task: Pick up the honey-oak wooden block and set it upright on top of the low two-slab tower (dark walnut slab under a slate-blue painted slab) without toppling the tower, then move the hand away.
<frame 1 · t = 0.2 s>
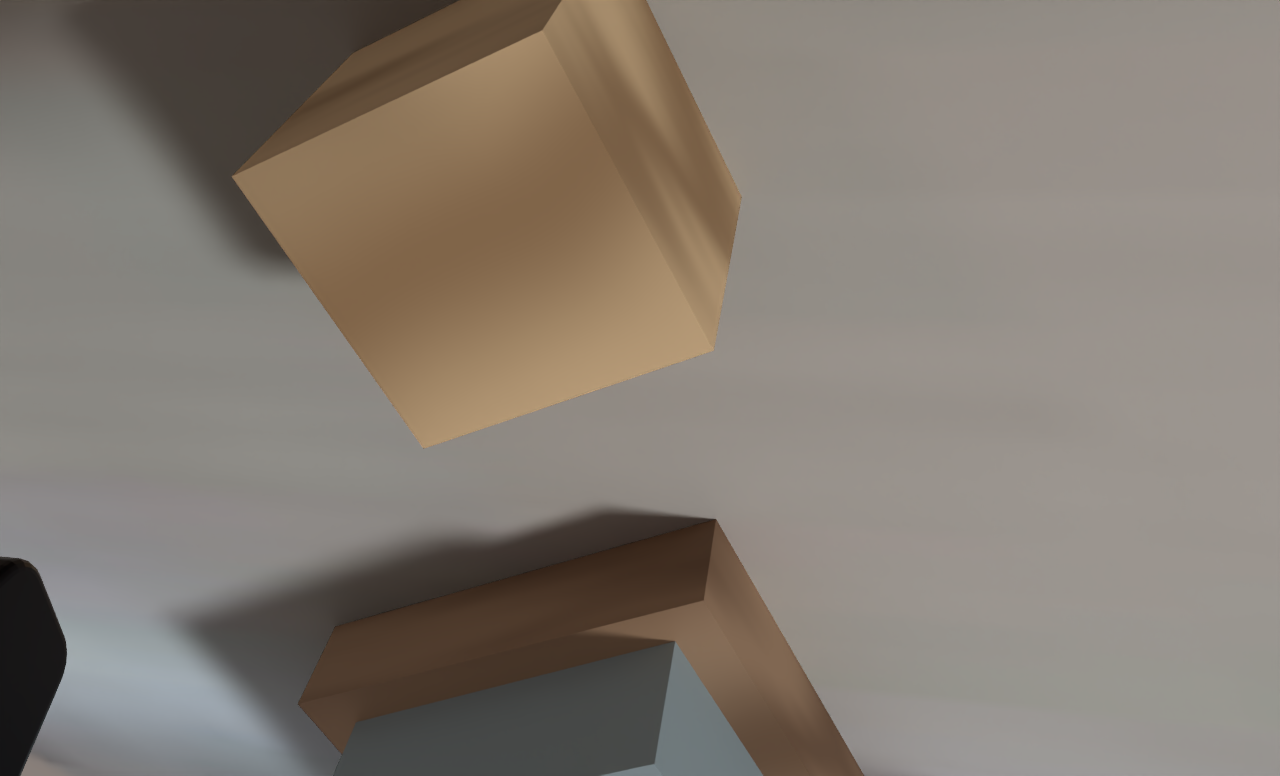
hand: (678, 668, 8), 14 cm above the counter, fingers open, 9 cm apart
tower base: (618, 701, 30), on the counter, touching tower top
oak block: (550, 124, 21), on the counter
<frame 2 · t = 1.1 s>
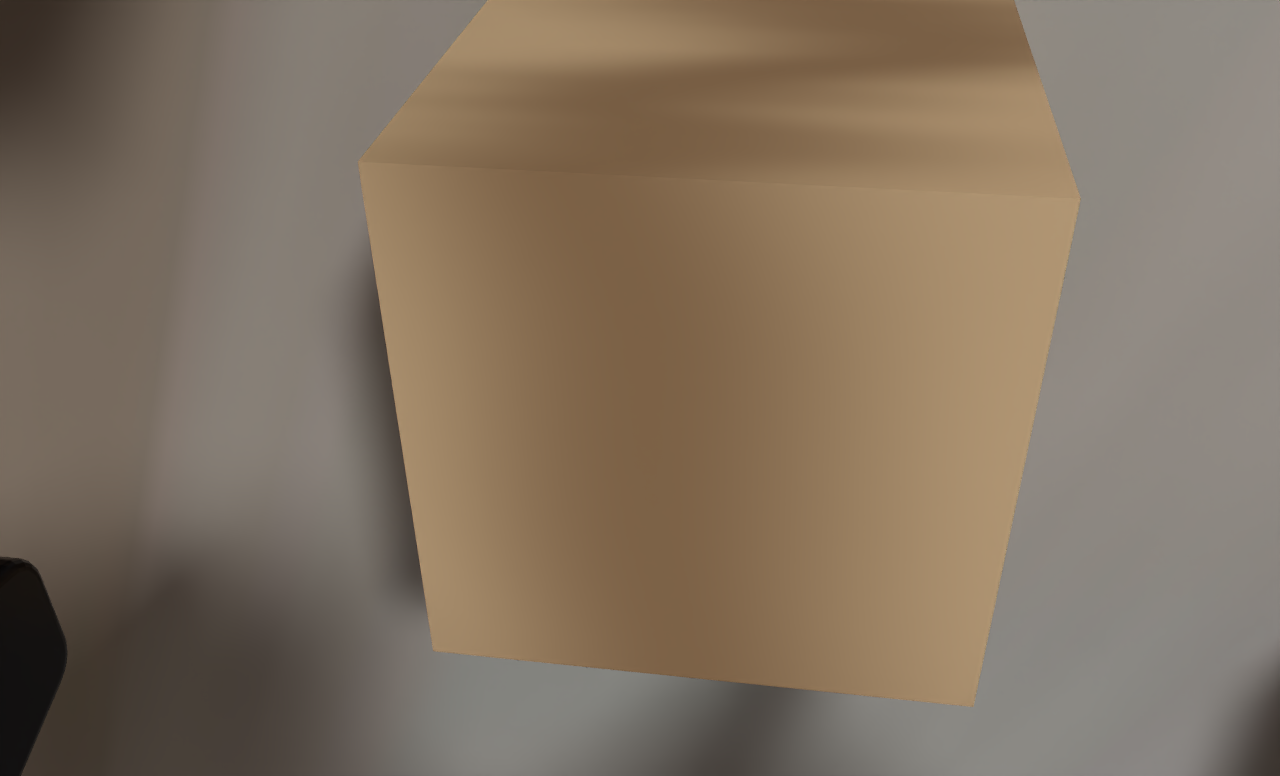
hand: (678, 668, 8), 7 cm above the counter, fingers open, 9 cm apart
oak block: (746, 194, 14), on the counter
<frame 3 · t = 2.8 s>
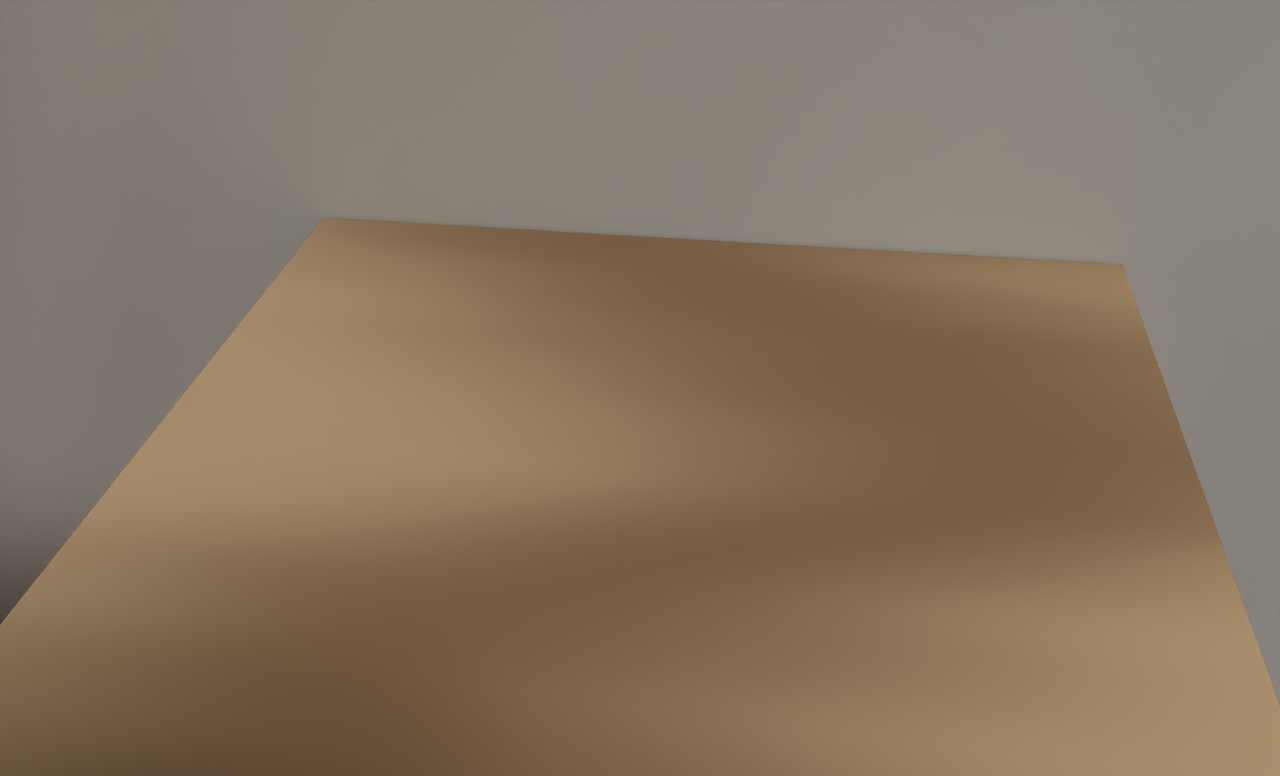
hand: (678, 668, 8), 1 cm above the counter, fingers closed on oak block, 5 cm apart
oak block: (699, 541, 9), on the counter, touching gripper
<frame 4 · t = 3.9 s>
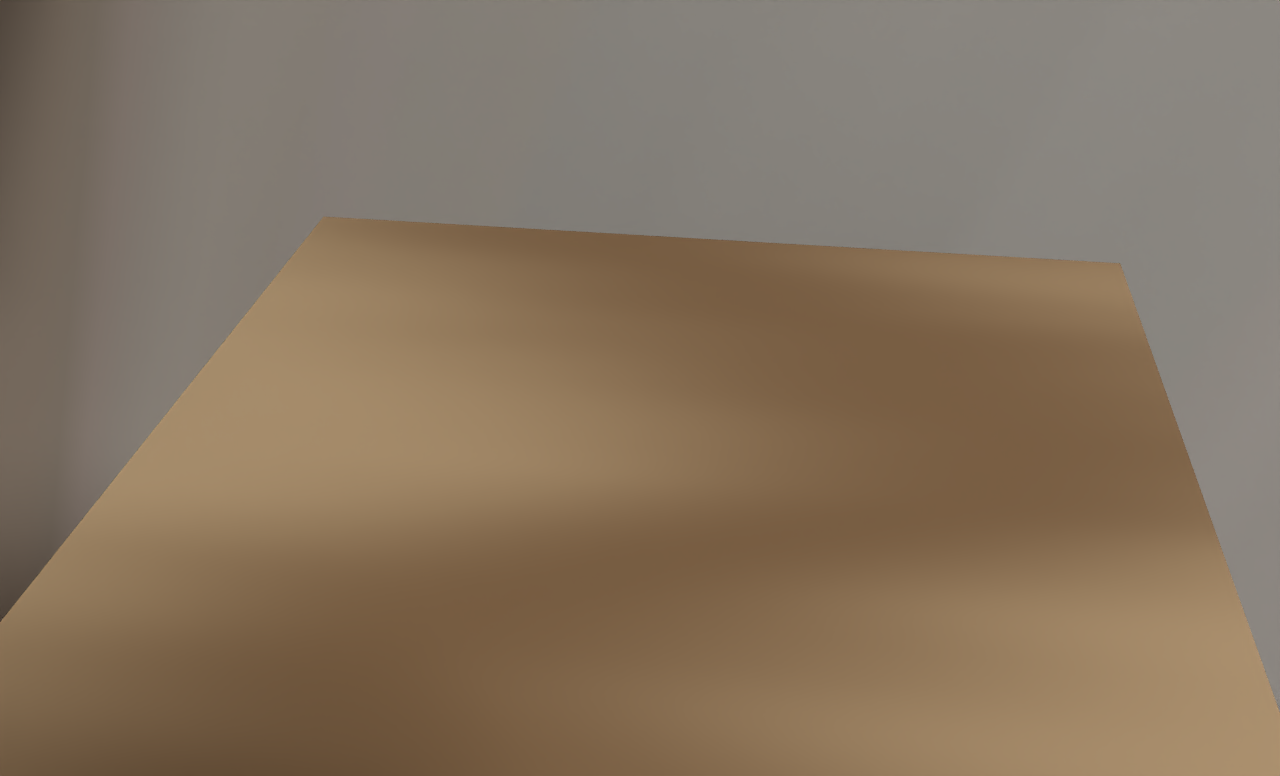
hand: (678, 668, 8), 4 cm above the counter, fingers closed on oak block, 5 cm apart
oak block: (699, 539, 9), point 3 cm above the counter, touching gripper
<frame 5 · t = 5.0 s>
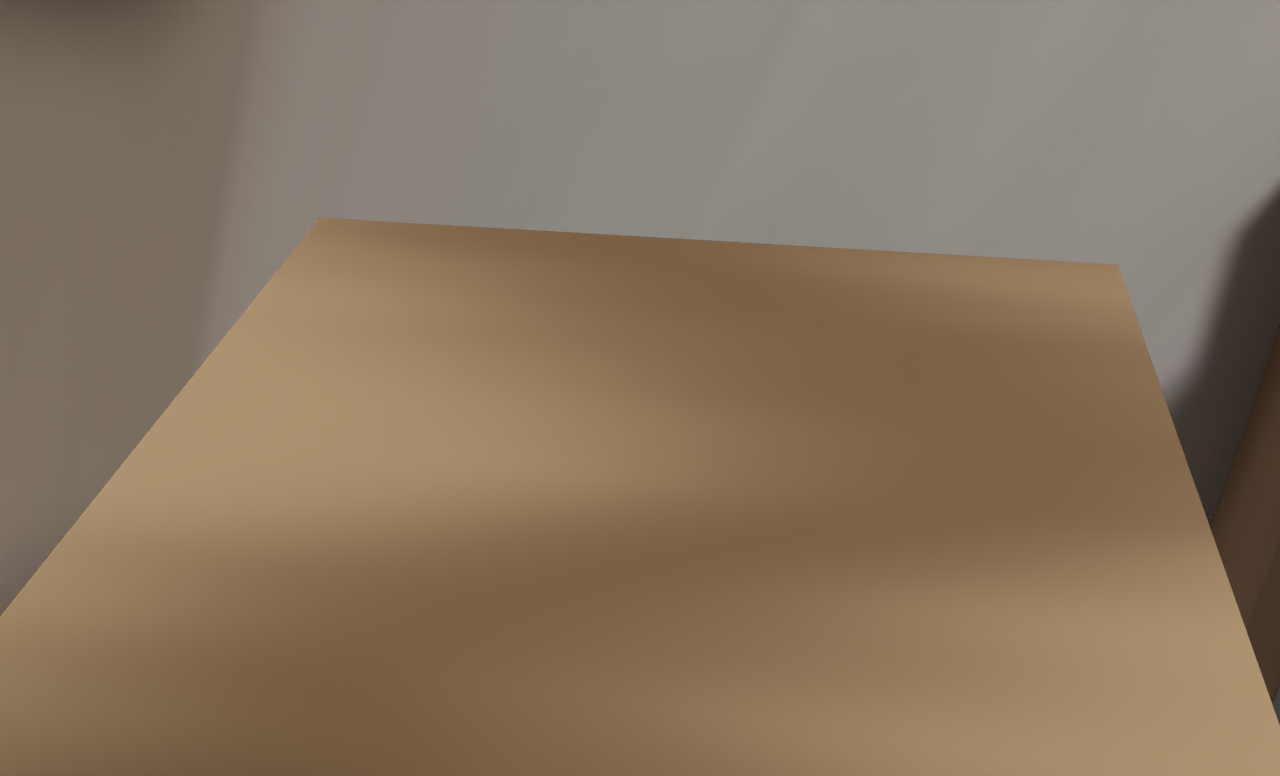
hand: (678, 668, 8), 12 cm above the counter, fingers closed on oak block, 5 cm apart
oak block: (696, 541, 9), point 11 cm above the counter, touching gripper
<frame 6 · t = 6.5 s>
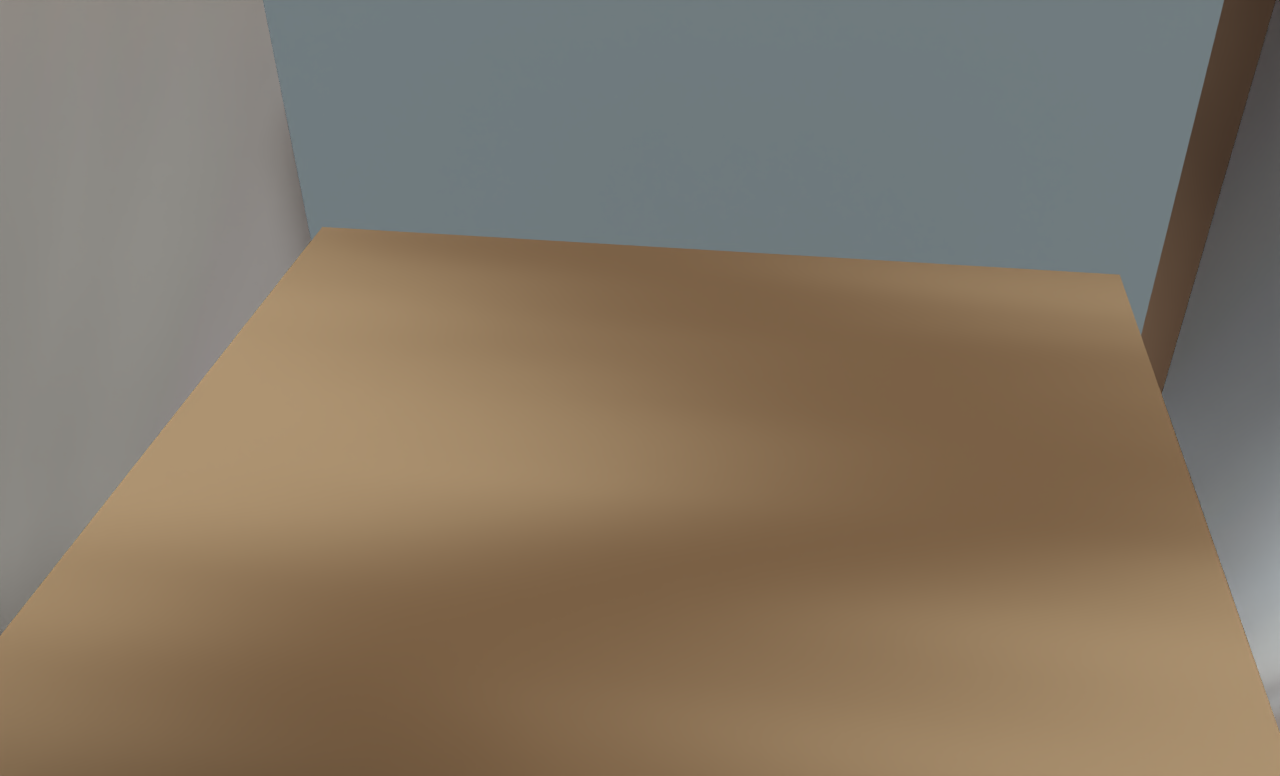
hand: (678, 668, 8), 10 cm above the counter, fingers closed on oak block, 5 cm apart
tower base: (783, 74, 17), on the counter, touching tower top
tower top: (738, 173, 14), point 2 cm above the counter, touching tower base
oak block: (698, 548, 9), point 9 cm above the counter, touching gripper
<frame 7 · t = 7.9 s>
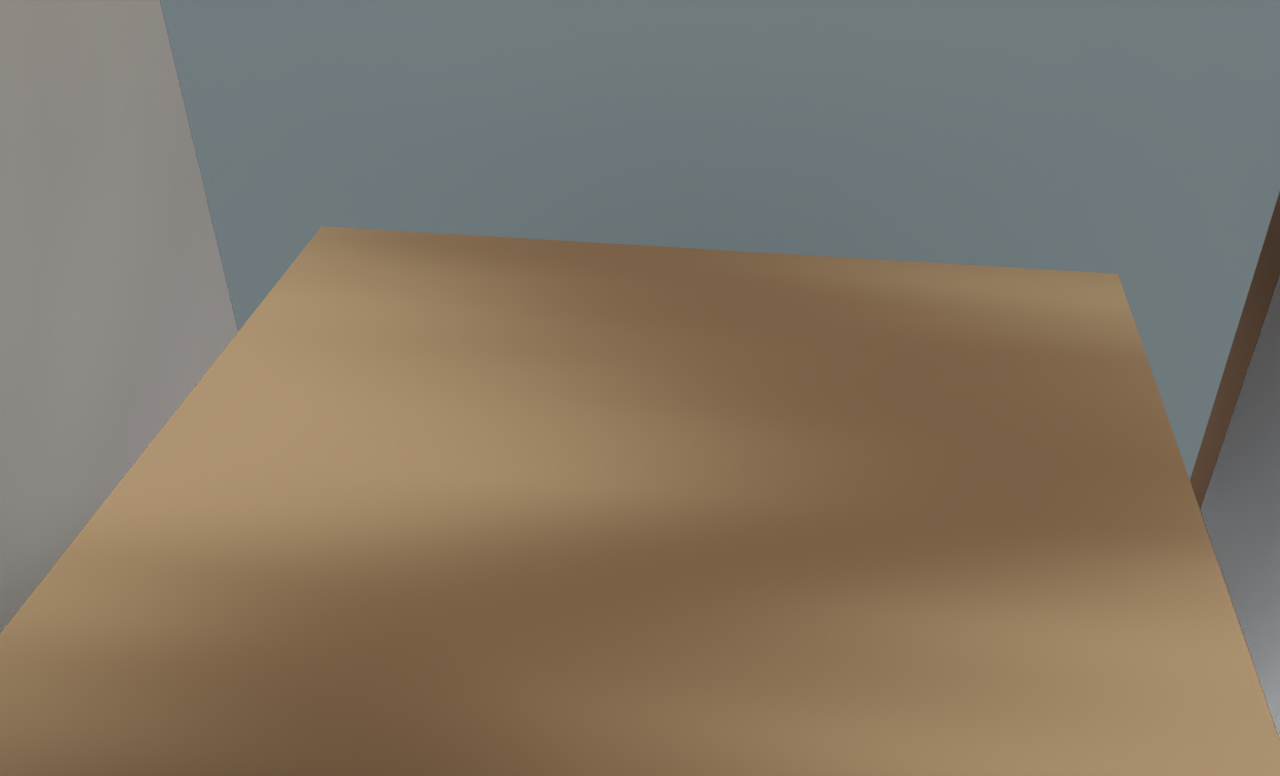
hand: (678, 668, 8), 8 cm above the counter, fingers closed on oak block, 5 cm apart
tower base: (784, 126, 15), on the counter, touching tower top
tower top: (731, 250, 13), point 2 cm above the counter, touching tower base
oak block: (697, 547, 9), point 7 cm above the counter, touching gripper
when the fingers open (8 cm above the counter, at t = 8.0 s): oak block drops 2 cm, resting on tower top.
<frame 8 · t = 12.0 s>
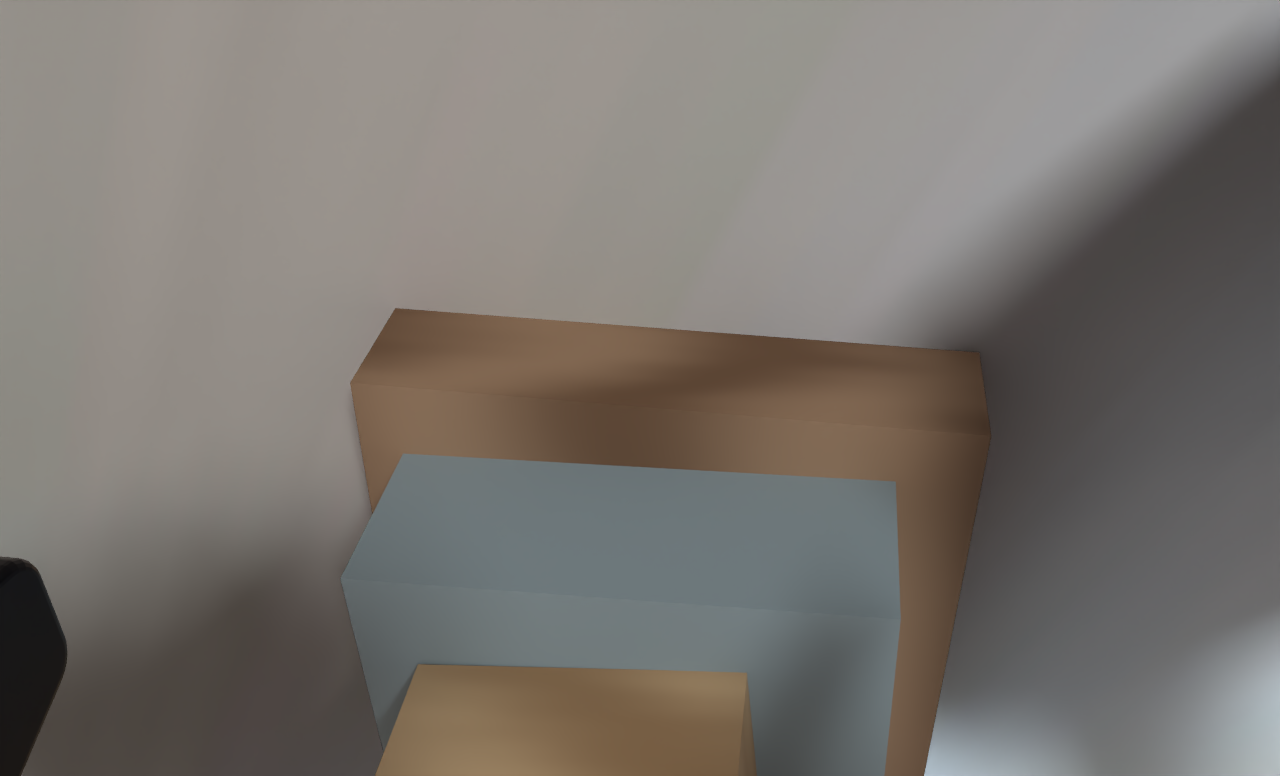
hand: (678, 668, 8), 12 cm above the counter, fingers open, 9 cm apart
tower base: (679, 526, 24), on the counter, touching tower top
tower top: (651, 642, 22), point 2 cm above the counter, touching oak block, tower base
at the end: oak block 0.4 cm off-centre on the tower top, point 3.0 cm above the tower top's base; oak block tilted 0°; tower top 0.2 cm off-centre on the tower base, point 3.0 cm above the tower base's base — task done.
